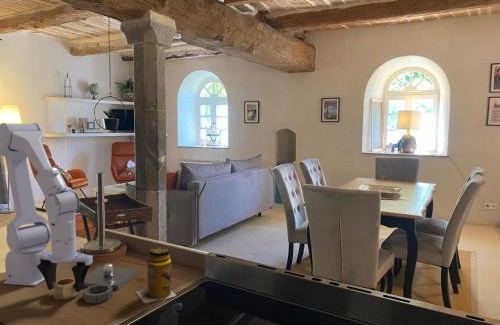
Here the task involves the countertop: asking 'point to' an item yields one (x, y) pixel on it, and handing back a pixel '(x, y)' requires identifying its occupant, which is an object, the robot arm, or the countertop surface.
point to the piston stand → (109, 276)
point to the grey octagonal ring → (92, 297)
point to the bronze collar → (64, 288)
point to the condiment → (158, 276)
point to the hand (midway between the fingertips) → (65, 289)
